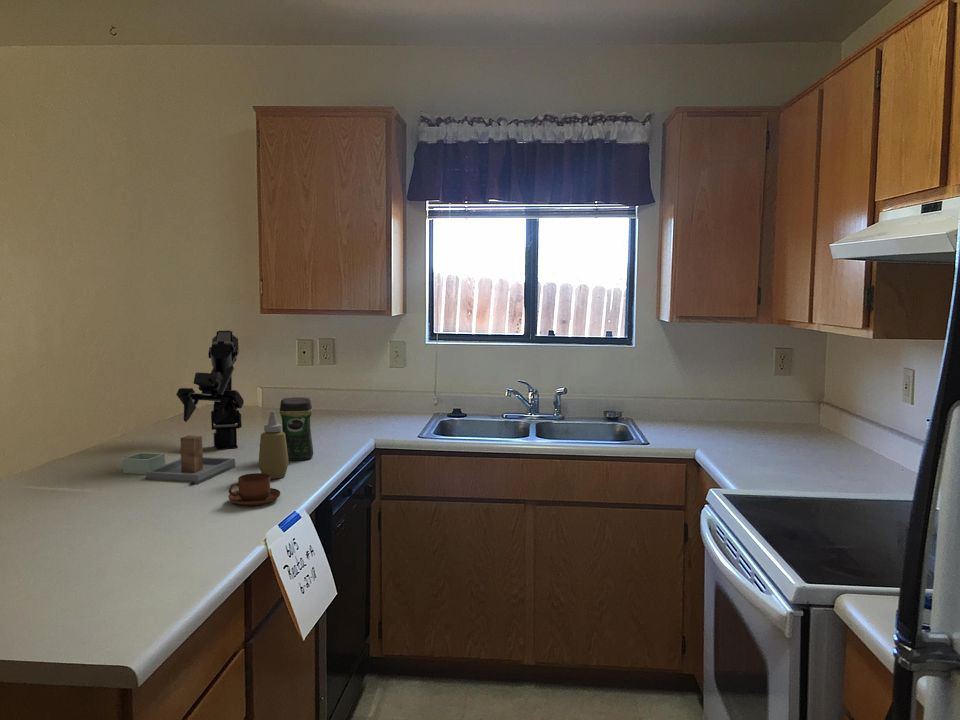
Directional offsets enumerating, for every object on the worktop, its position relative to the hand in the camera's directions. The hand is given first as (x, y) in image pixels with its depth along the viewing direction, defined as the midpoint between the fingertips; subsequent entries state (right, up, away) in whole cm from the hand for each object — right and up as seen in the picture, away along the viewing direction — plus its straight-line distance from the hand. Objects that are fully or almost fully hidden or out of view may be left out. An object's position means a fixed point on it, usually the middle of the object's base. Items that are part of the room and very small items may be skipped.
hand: (199, 421), depth 206 cm
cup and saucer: (+26, -17, -31) cm, 44 cm away
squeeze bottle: (+24, -14, -9) cm, 29 cm away
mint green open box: (-13, -14, -5) cm, 20 cm away
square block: (0, -13, -6) cm, 14 cm away
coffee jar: (+24, -12, +13) cm, 30 cm away
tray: (0, -14, -6) cm, 15 cm away
